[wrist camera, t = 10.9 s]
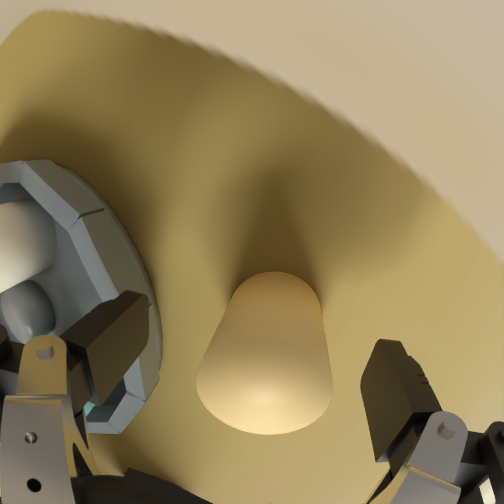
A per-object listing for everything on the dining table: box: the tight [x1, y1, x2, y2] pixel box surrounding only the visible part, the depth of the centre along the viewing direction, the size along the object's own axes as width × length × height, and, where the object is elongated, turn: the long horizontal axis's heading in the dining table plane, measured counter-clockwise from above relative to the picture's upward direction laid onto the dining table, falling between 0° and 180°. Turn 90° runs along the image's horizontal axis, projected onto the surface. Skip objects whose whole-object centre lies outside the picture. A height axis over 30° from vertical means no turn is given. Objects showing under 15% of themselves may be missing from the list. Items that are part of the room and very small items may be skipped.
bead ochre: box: [196, 271, 333, 434], centre depth 10 cm, size 4×4×5 cm
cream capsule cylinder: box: [0, 198, 57, 293], centre depth 10 cm, size 4×4×5 cm
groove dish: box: [0, 159, 162, 434], centre depth 13 cm, size 17×17×3 cm
